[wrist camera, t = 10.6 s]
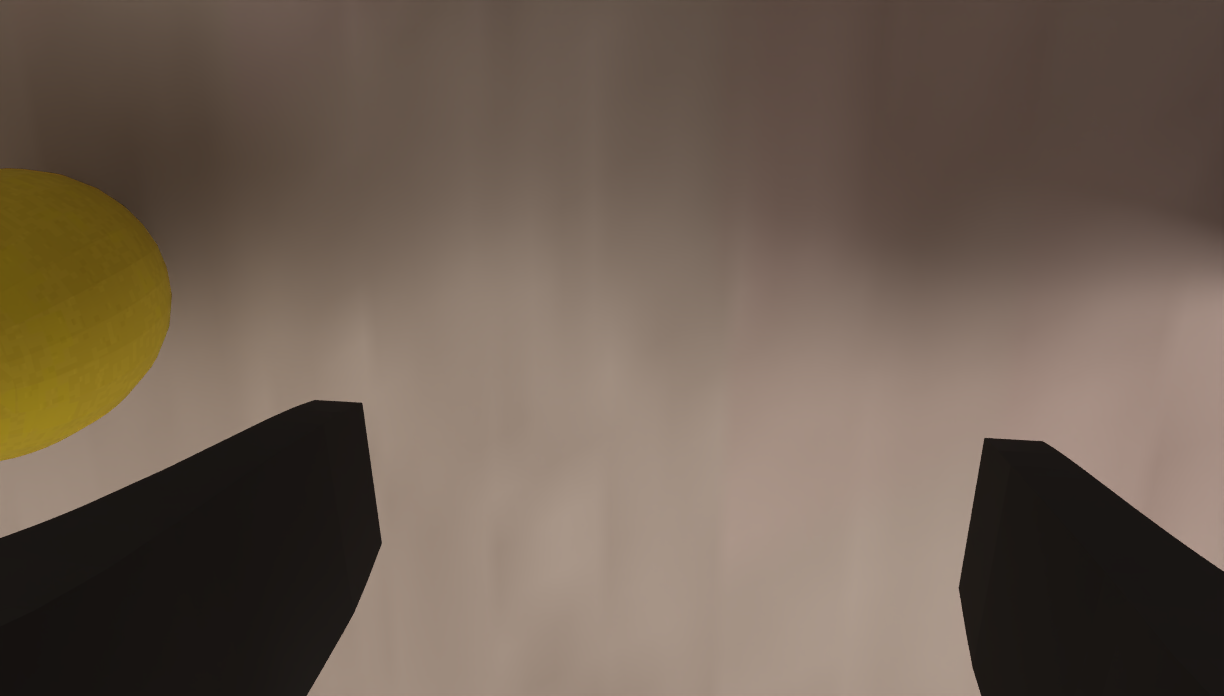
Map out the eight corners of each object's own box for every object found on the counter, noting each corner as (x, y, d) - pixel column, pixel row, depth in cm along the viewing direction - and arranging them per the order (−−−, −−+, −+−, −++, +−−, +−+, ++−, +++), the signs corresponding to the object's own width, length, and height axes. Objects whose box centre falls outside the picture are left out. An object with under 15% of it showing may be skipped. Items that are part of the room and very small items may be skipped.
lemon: (-27, 184, 23) (-394, 311, 16) (151, 95, 21) (-168, 190, 14) (105, 380, 25) (-169, 575, 17) (278, 311, 23) (55, 495, 16)
